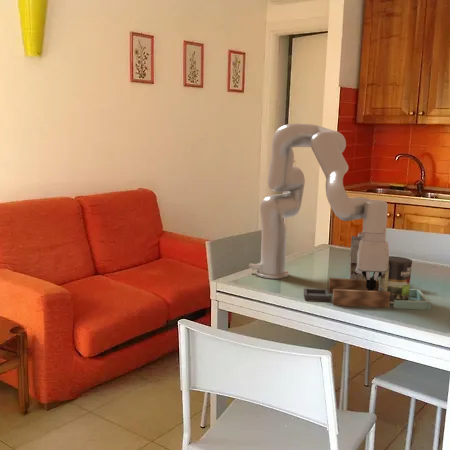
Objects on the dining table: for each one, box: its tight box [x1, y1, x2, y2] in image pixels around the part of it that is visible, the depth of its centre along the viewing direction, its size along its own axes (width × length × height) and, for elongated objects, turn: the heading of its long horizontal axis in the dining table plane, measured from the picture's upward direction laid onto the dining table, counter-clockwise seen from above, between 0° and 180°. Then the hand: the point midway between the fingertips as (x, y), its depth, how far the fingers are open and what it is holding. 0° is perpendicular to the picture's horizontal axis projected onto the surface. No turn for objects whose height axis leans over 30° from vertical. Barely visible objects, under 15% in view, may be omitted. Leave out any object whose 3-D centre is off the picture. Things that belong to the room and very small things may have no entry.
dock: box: [392, 288, 431, 311], centre depth 185 cm, size 12×15×2 cm
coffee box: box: [348, 235, 366, 280], centre depth 211 cm, size 9×6×16 cm
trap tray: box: [303, 287, 330, 302], centre depth 188 cm, size 8×8×2 cm
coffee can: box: [378, 255, 413, 305], centre depth 186 cm, size 10×10×14 cm
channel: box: [328, 277, 390, 309], centre depth 186 cm, size 18×15×5 cm
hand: (370, 290), depth 185 cm, fingers closed
